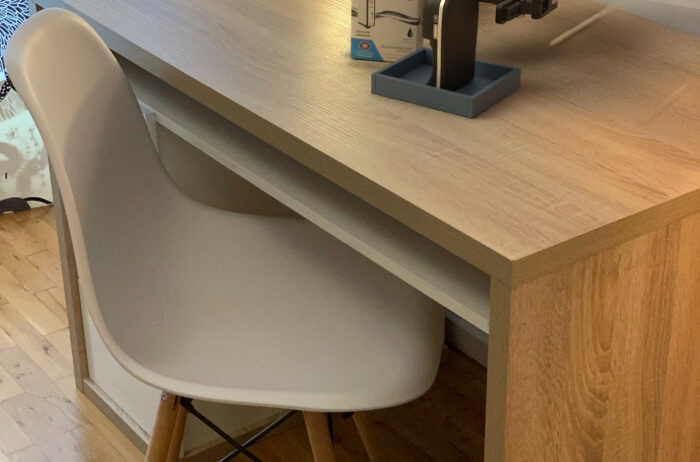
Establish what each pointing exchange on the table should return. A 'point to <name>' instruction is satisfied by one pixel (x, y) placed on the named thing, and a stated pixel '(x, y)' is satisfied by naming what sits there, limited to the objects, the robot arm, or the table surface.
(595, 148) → the table surface
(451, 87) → the battery charger
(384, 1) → the ink box
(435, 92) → the tray
